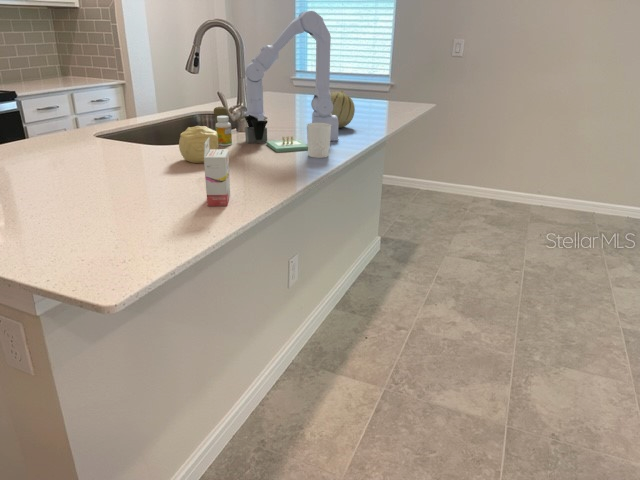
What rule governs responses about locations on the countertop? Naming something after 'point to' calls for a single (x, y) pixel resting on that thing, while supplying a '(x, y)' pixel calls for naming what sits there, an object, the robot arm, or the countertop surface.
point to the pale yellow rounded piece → (197, 143)
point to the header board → (287, 145)
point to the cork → (220, 113)
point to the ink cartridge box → (216, 175)
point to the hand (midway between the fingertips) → (256, 137)
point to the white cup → (318, 139)
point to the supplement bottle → (223, 131)
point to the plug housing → (251, 135)
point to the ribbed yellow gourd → (342, 108)
